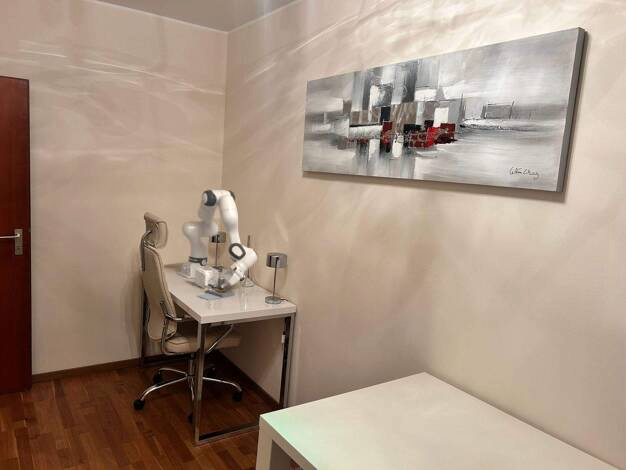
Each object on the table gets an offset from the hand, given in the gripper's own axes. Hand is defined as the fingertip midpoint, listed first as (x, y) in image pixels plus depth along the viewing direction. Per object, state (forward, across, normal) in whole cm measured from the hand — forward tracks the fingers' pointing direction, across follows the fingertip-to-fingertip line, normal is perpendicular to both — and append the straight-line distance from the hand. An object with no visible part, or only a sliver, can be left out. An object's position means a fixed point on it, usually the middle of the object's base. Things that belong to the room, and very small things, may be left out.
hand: (219, 285), depth 297 cm
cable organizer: (+7, -20, +1) cm, 22 cm away
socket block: (+3, 0, +4) cm, 5 cm away
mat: (+9, +6, -2) cm, 11 cm away
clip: (+6, -6, -3) cm, 9 cm away
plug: (+3, 0, +4) cm, 5 cm away
